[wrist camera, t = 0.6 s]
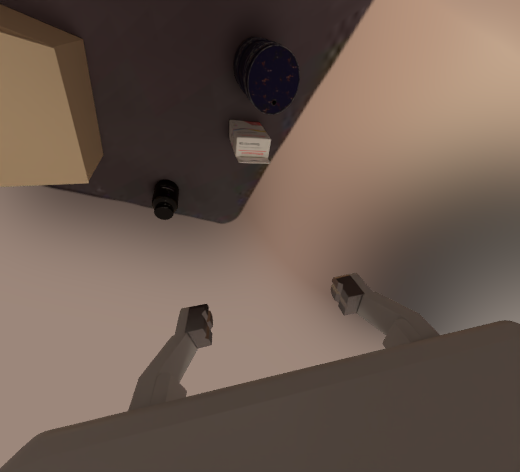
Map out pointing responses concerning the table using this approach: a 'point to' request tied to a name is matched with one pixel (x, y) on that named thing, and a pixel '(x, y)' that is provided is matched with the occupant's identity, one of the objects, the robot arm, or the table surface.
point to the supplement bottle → (165, 199)
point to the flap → (35, 118)
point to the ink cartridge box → (249, 141)
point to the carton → (65, 78)
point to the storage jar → (267, 74)
